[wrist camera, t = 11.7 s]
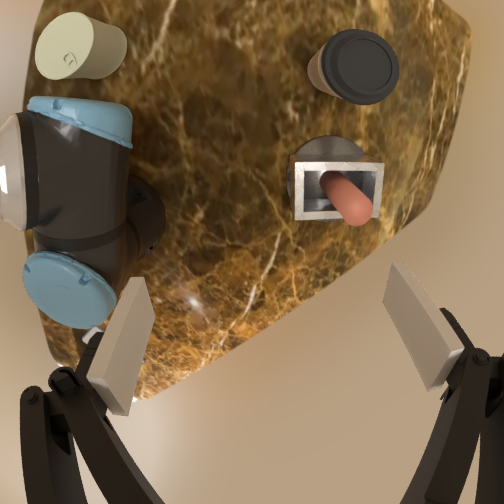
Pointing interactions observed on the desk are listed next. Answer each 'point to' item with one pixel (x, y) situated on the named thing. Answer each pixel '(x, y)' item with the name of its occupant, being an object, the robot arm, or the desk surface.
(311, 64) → the coffee cup
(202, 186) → the desk surface
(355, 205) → the pin
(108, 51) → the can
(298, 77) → the desk surface
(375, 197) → the rosette bracket
